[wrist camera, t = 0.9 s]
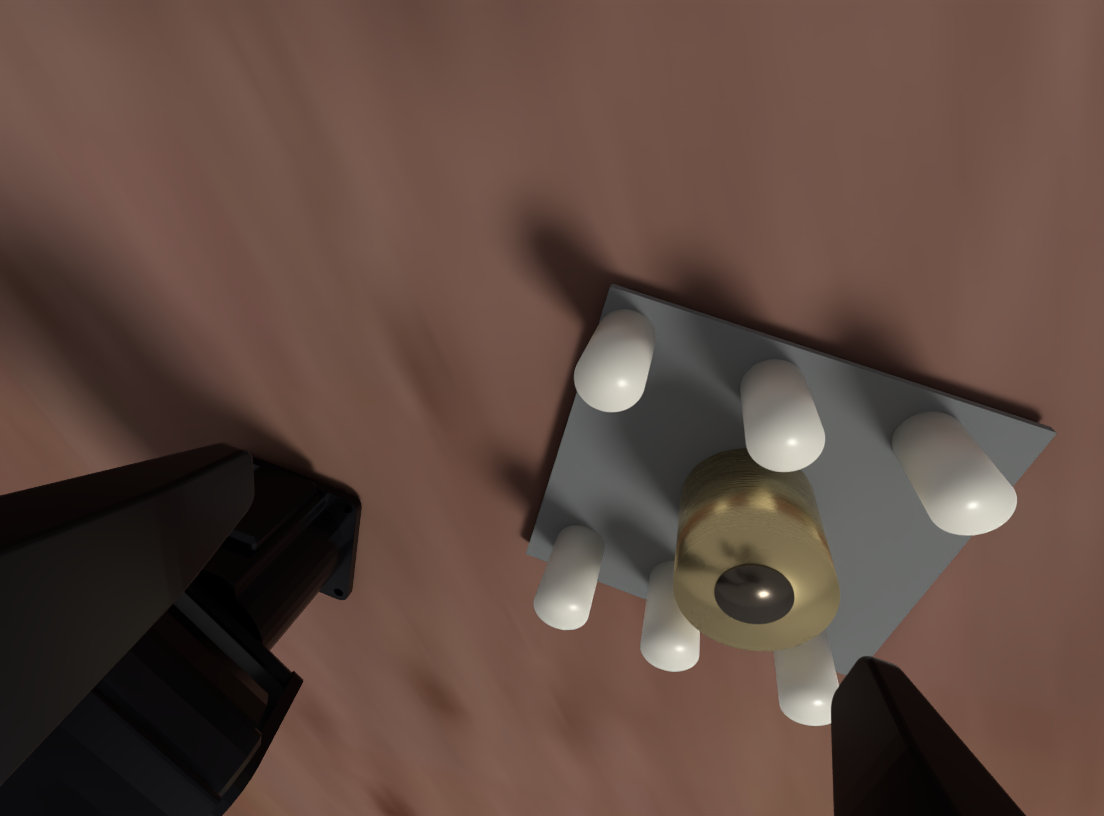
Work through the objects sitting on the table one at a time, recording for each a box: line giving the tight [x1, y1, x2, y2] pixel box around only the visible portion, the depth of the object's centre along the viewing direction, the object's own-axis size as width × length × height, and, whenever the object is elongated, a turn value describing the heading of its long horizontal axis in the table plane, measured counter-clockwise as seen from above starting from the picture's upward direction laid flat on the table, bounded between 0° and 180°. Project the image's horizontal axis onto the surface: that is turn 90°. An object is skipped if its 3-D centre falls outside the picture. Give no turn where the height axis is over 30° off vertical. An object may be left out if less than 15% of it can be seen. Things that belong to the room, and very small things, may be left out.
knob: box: [673, 448, 840, 651], centre depth 19 cm, size 5×5×5 cm
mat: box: [526, 283, 1057, 675], centre depth 21 cm, size 12×14×1 cm
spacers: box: [534, 309, 1017, 726], centre depth 19 cm, size 11×12×4 cm
